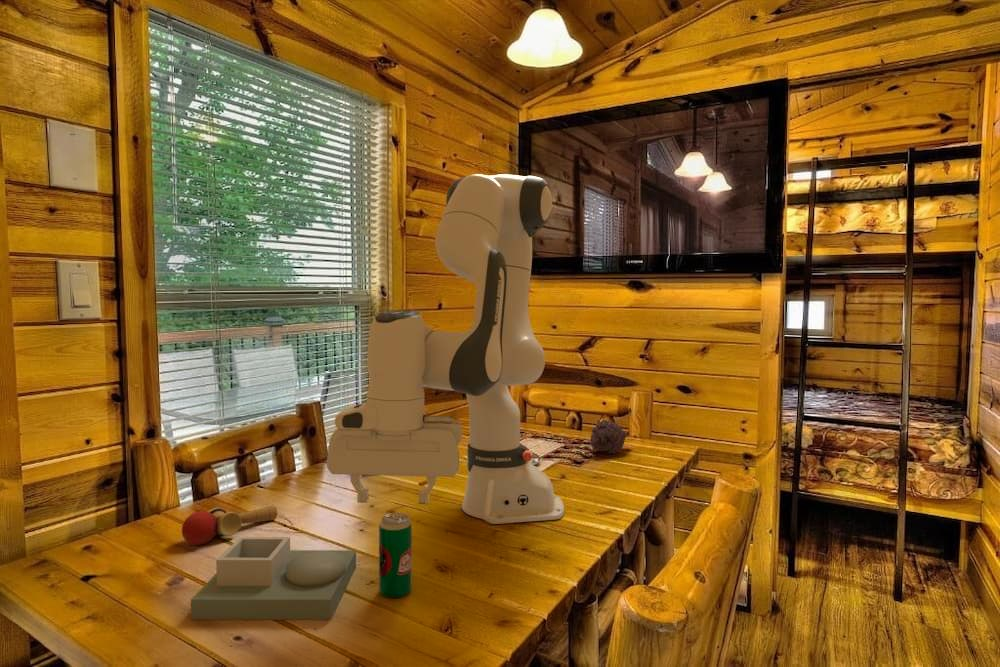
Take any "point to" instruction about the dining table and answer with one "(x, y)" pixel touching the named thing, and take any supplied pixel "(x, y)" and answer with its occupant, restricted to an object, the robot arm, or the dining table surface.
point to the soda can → (395, 555)
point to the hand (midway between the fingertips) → (393, 502)
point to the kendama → (221, 523)
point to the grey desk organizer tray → (274, 582)
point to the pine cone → (608, 437)
